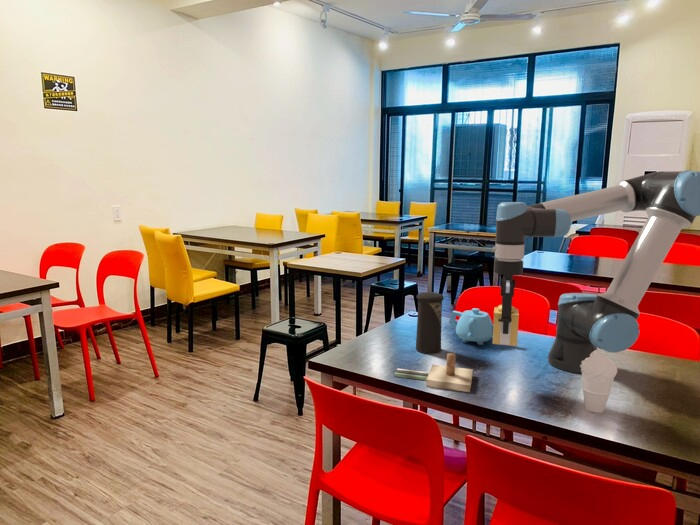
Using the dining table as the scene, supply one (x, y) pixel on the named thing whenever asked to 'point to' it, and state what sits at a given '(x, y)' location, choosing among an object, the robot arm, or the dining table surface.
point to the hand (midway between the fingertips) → (504, 340)
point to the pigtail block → (442, 376)
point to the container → (429, 322)
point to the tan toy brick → (513, 325)
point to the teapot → (473, 325)
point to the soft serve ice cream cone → (597, 380)
